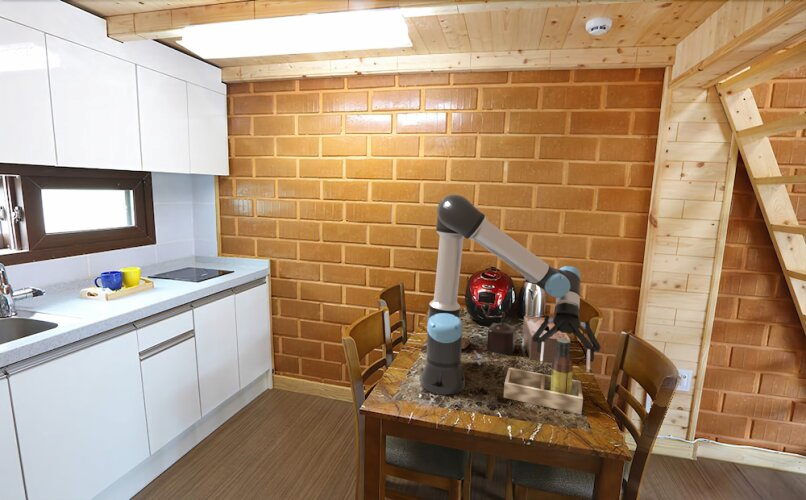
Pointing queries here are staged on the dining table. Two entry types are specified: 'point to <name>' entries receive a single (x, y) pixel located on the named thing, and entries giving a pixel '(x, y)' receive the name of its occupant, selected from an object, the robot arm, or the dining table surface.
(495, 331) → the manual coffee grinder
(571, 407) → the birch caddy
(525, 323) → the tissue box cover
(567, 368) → the sauce bottle
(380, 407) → the dining table surface
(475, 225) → the robot arm
